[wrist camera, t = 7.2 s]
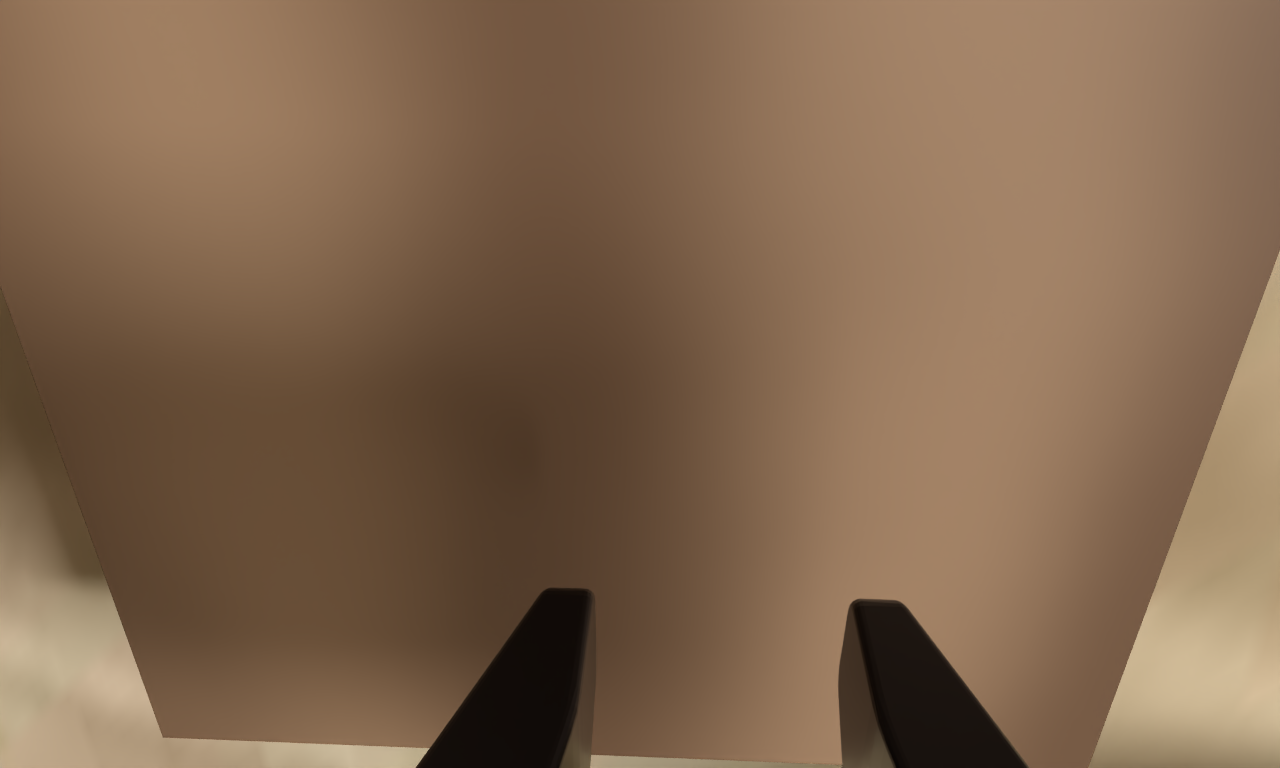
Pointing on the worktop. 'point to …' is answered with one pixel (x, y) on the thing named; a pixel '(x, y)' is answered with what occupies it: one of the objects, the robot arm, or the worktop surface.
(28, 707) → the worktop surface
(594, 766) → the worktop surface
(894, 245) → the walnut base
